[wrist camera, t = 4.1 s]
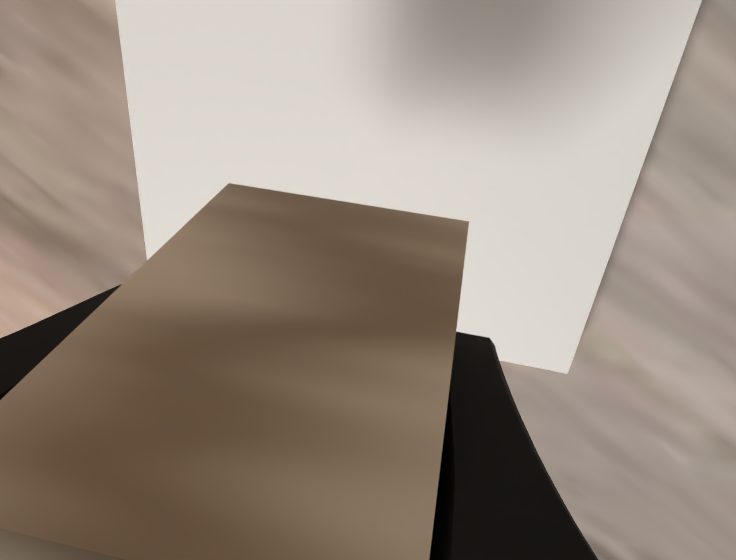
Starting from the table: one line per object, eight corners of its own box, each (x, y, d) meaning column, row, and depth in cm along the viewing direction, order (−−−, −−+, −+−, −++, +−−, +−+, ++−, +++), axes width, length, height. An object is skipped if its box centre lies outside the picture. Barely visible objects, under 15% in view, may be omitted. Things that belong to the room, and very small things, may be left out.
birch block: (468, 221, 10) (419, 634, 4) (433, 405, 12) (371, 831, 7) (229, 182, 11) (-106, 501, 5) (238, 366, 13) (20, 729, 7)
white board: (750, -187, 12) (772, -198, 11) (564, 350, 19) (567, 373, 18) (115, -239, 14) (84, -252, 13) (168, 273, 21) (150, 291, 20)
